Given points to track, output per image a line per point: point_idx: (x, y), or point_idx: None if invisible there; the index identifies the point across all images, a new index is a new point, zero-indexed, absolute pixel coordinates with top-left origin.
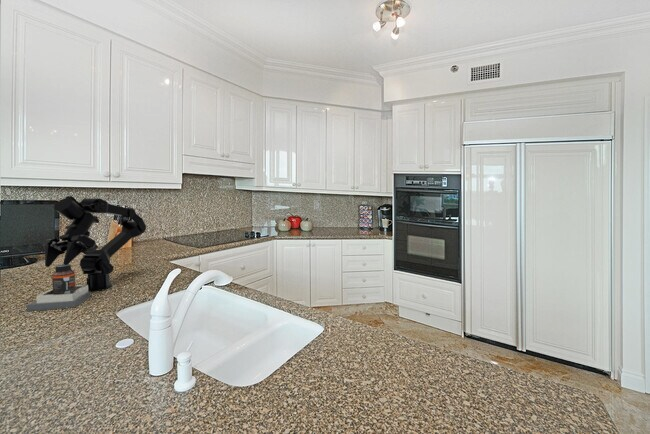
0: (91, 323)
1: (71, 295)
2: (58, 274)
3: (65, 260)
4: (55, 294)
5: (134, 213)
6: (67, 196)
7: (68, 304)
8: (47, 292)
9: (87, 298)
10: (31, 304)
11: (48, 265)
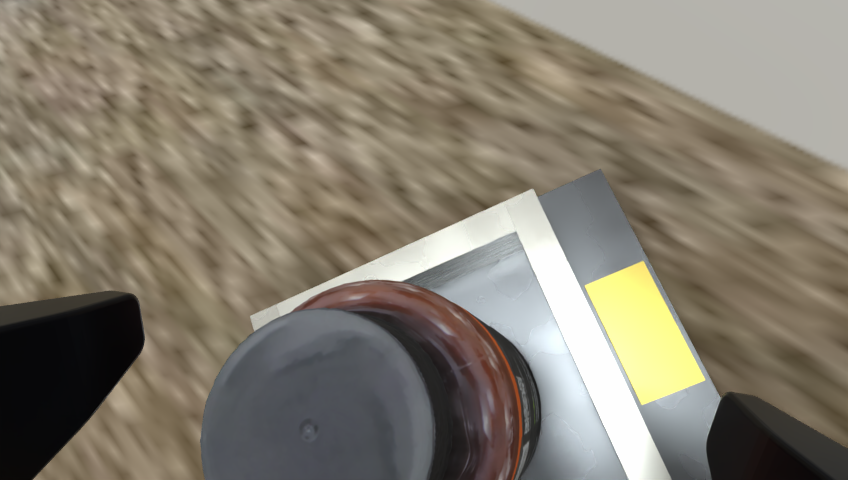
0: (4, 134)
1: (263, 313)
2: (322, 295)
3: (45, 304)
4: (396, 272)
5: None
6: None
7: None
8: (555, 315)
9: None
10: (570, 188)
11: (718, 449)
